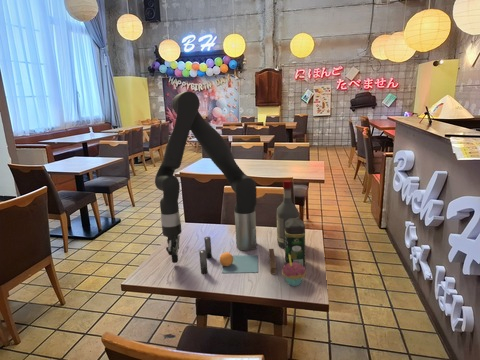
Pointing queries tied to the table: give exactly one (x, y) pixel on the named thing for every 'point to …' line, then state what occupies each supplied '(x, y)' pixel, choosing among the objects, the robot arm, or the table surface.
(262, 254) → the table surface
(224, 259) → the ball
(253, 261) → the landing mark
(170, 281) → the table surface
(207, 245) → the post
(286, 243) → the coffee jar
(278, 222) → the liquor
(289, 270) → the cupcake
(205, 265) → the post
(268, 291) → the table surface
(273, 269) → the stopper wall
